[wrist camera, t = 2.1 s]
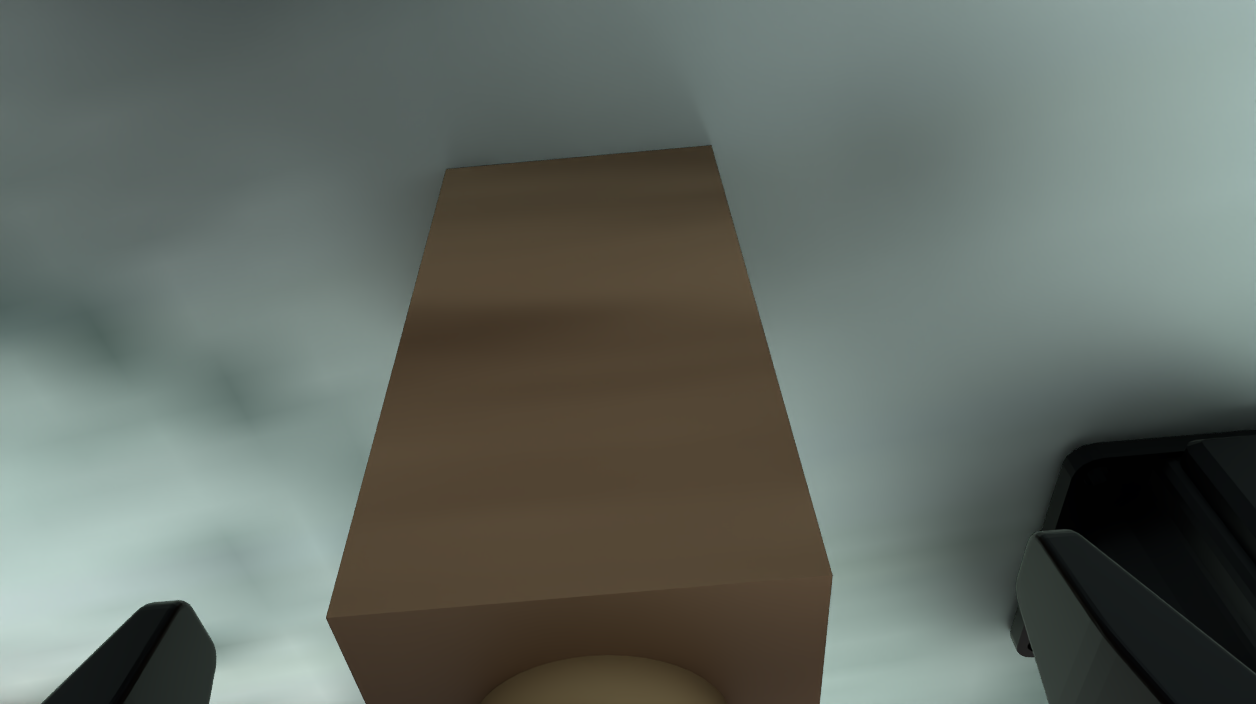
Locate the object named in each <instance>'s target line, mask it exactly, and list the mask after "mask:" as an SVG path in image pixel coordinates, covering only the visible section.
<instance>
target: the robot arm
mask: <svg viewBox="0 0 1256 704" xmlns="http://www.w3.org/2000/svg"><path fill="white" fill-rule="evenodd" d="M1016 594H1017V600H1018V604H1019V605H1018V609H1017V612H1016V615H1015V618H1014V622H1013V625H1012V628H1011V631H1010V636H1011V639H1012V641H1013V643H1014V645H1015V648H1016V650H1017V652H1018V653H1019V654H1020V655H1022V656H1025V657H1035V660H1036V663H1037V667H1038V670H1039V673H1040V677H1041V680H1042V683H1043V687H1044V690H1045V693H1046V696H1047V700H1048V703H1049V704H1256V430H1246V431H1234V432H1222V433H1210V434H1198V435H1186V436H1174V437H1163V438H1151V439H1139V440H1127V441H1115V442H1103V443H1093V444H1089V445H1084V446H1082V447H1080V448H1078V449H1076V450H1074V451H1073V452H1072V453H1070V454H1069V455H1068V456H1067V457H1066V459H1065V460H1064V462H1063V464H1062V467H1061V470H1060V474H1059V477H1058V480H1057V483H1056V486H1055V490H1054V493H1053V496H1052V499H1051V503H1050V506H1049V509H1048V512H1047V515H1046V519H1045V522H1044V525H1043V528H1042V531H1038V532H1035V533H1034V534H1032V535H1031V536H1030V538H1029V540H1028V543H1027V546H1026V549H1025V553H1024V556H1023V560H1022V563H1021V566H1020V570H1019V573H1018V576H1017V581H1016ZM215 669H216V650H215V646H214V643H213V641H212V640H211V638H210V636H209V635H208V633H207V631H206V630H205V628H204V626H203V625H202V623H201V621H200V620H199V618H198V616H197V615H196V613H195V611H194V610H193V608H192V607H191V605H190V604H188V603H187V602H185V601H182V600H176V601H164V602H153V603H149V604H146V605H144V606H143V607H141V608H140V609H138V610H137V611H136V612H135V613H134V614H133V615H132V616H131V617H130V618H129V619H128V620H127V621H126V622H125V623H124V624H123V625H122V626H121V627H120V628H119V629H118V630H117V631H115V632H114V633H113V634H112V635H111V636H110V637H109V638H108V639H107V640H106V641H105V642H104V643H103V644H102V645H101V646H100V647H99V648H98V649H97V650H96V651H95V652H94V653H93V654H92V655H91V656H90V657H89V658H88V659H87V660H86V661H84V662H83V663H82V664H81V665H80V666H79V667H78V668H77V669H76V670H75V671H74V672H73V673H72V674H71V675H70V676H69V677H68V678H67V679H66V680H65V681H64V682H63V683H62V684H61V685H60V686H59V687H58V688H57V689H56V690H55V691H54V692H52V693H51V694H50V695H49V696H48V697H47V698H46V699H45V700H44V701H43V702H42V703H41V704H209V701H210V696H211V690H212V685H213V679H214V674H215Z"/></svg>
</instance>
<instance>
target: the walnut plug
mask: <svg viewBox="0 0 1256 704" xmlns="http://www.w3.org/2000/svg"><path fill="white" fill-rule="evenodd" d="M832 576H833V575H832V572H831V568H830V565H829V561H828V557H827V554H826V550H825V547H824V543H823V540H822V536H821V533H820V529H819V525H818V522H817V518H816V515H815V511H814V508H813V504H812V501H811V497H810V494H809V490H808V486H807V483H806V479H805V476H804V472H803V469H802V465H801V462H800V458H799V455H798V451H797V447H796V444H795V440H794V437H793V433H792V430H791V426H790V423H789V419H788V415H787V412H786V408H785V405H784V401H783V398H782V394H781V391H780V387H779V384H778V380H777V376H776V373H775V369H774V366H773V362H772V359H771V355H770V352H769V348H768V345H767V341H766V337H765V334H764V330H763V327H762V323H761V320H760V316H759V313H758V309H757V306H756V302H755V298H754V295H753V291H752V288H751V284H750V281H749V277H748V274H747V270H746V266H745V263H744V259H743V256H742V252H741V249H740V245H739V242H738V238H737V235H736V231H735V227H734V224H733V220H732V217H731V213H730V210H729V206H728V203H727V199H726V196H725V192H724V188H723V185H722V181H721V178H720V174H719V171H718V167H717V164H716V160H715V156H714V153H713V149H712V146H711V145H708V146H697V147H686V148H675V149H664V150H652V151H641V152H630V153H619V154H608V155H597V156H586V157H575V158H563V159H552V160H541V161H530V162H519V163H508V164H497V165H486V166H474V167H463V168H452V169H446V171H445V175H444V179H443V183H442V186H441V190H440V194H439V197H438V201H437V205H436V209H435V212H434V216H433V220H432V224H431V227H430V231H429V235H428V239H427V242H426V246H425V250H424V254H423V257H422V261H421V265H420V268H419V272H418V276H417V280H416V283H415V287H414V291H413V295H412V298H411V302H410V306H409V310H408V313H407V317H406V321H405V325H404V328H403V332H402V336H401V339H400V343H399V347H398V351H397V354H396V358H395V362H394V366H393V369H392V373H391V377H390V381H389V384H388V388H387V392H386V396H385V399H384V403H383V407H382V410H381V414H380V418H379V422H378V425H377V429H376V433H375V437H374V440H373V444H372V448H371V452H370V455H369V459H368V463H367V467H366V470H365V474H364V478H363V481H362V485H361V489H360V493H359V496H358V500H357V504H356V508H355V511H354V515H353V519H352V523H351V526H350V530H349V534H348V538H347V541H346V545H345V549H344V552H343V556H342V560H341V564H340V567H339V571H338V575H337V579H336V582H335V586H334V590H333V594H332V597H331V601H330V605H329V609H328V612H327V616H326V619H327V621H328V624H329V626H330V628H331V630H332V632H333V634H334V636H335V639H336V641H337V643H338V645H339V647H340V649H341V652H342V654H343V656H344V658H345V660H346V662H347V664H348V667H349V669H350V671H351V673H352V675H353V677H354V680H355V682H356V684H357V686H358V688H359V690H360V692H361V695H362V697H363V699H364V701H365V703H366V704H820V695H821V685H822V675H823V665H824V655H825V645H826V635H827V625H828V615H829V605H830V595H831V585H832Z"/></svg>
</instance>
